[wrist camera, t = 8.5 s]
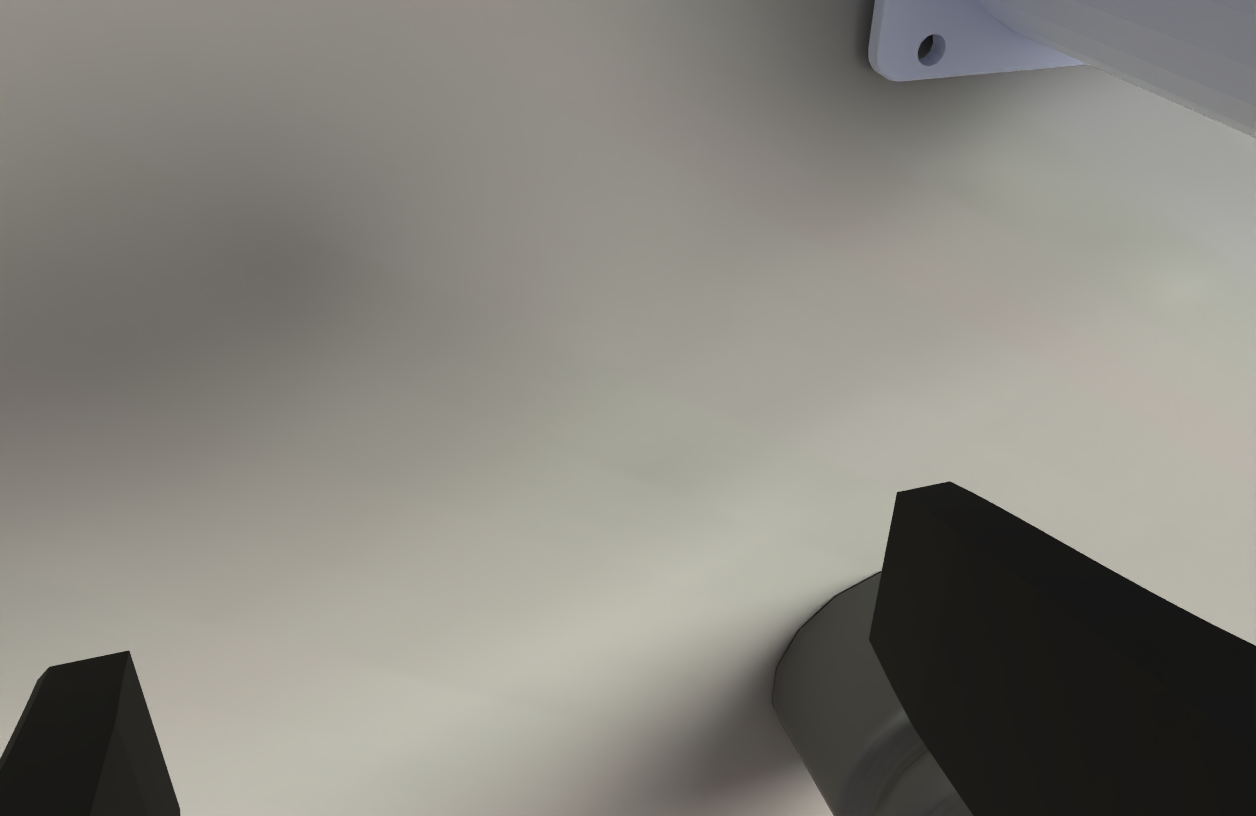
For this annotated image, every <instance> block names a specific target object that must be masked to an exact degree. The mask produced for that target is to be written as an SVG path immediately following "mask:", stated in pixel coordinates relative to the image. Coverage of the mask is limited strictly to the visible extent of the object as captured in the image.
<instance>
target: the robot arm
mask: <svg viewBox="0 0 1256 816" xmlns="http://www.w3.org/2000/svg"><path fill="white" fill-rule="evenodd" d="M930 35H933V44H932V47H931V49H930V51H929V52H928V53H927V54H926V55H925V57H923V58H920V59H918V49H919V47H920V44H921V42H922V41H923V40H924V39H925V38H926V37H927V36H930ZM868 54H869V62H870V64H871V66H872V68H873V70H875V71H876V72H877V73H879V74H880V75H881V76H883V77H885V78H887V79H888V80H891V81H898V82H901V81H912V80H923V79H934V78H946V77H957V76H968V75H979V74H990V73H1001V72H1012V71H1023V70H1034V69H1046V68H1057V67H1068V66H1079V65H1091V66H1093V67H1096V68H1098V69H1100V70H1102V71H1105V72H1107V73H1109V74H1111V75H1114V76H1116V77H1118V78H1121V79H1123V80H1125V81H1127V82H1130V83H1132V84H1134V85H1136V86H1139V87H1141V88H1143V89H1146V90H1148V91H1150V92H1152V93H1155V94H1157V95H1159V96H1161V97H1164V98H1166V99H1168V100H1171V101H1173V102H1175V103H1177V104H1180V105H1182V106H1184V107H1186V108H1189V109H1191V110H1193V111H1196V112H1198V113H1200V114H1202V115H1205V116H1207V117H1209V118H1211V119H1214V120H1216V121H1218V122H1221V123H1223V124H1225V125H1227V126H1230V127H1232V128H1234V129H1237V130H1239V131H1241V132H1243V133H1246V134H1248V135H1250V136H1252V137H1255V138H1256V0H875V4H874V11H873V18H872V25H871V33H870V40H869V47H868ZM869 641H870V643H871V645H872V647H873V649H874V652H875V654H876V656H877V658H878V660H879V662H880V664H881V666H882V668H883V670H884V672H885V674H886V676H887V678H888V680H889V682H890V684H891V686H892V688H893V690H894V692H895V694H896V696H897V698H898V699H899V701H900V703H901V705H902V707H903V709H904V711H905V713H906V714H907V716H908V718H909V720H910V722H911V724H912V726H913V727H914V729H915V730H916V732H917V733H918V735H919V737H920V738H921V740H922V741H923V743H924V744H925V746H926V747H927V749H928V750H929V752H930V753H931V754H932V756H933V757H934V759H935V760H936V762H937V763H938V765H939V766H940V768H941V769H942V771H943V772H944V774H945V775H946V777H947V778H948V779H949V781H950V782H951V784H952V785H953V787H954V788H955V790H956V791H957V793H958V794H959V796H960V797H961V799H962V800H963V801H964V803H965V804H966V806H967V807H968V809H969V810H970V811H971V813H972V814H973V816H1256V646H1255V645H1253V644H1251V643H1249V642H1247V641H1245V640H1243V639H1241V638H1239V637H1237V636H1235V635H1233V634H1231V633H1229V632H1227V631H1225V630H1223V629H1221V628H1219V627H1217V626H1215V625H1213V624H1211V623H1209V622H1207V621H1205V620H1203V619H1201V618H1199V617H1197V616H1195V615H1193V614H1192V613H1190V612H1188V611H1186V610H1184V609H1182V608H1180V607H1178V606H1176V605H1174V604H1172V603H1171V602H1169V601H1167V600H1165V599H1163V598H1161V597H1159V596H1158V595H1156V594H1154V593H1152V592H1150V591H1148V590H1147V589H1145V588H1143V587H1141V586H1139V585H1137V584H1136V583H1134V582H1132V581H1130V580H1128V579H1127V578H1125V577H1123V576H1121V575H1119V574H1117V573H1116V572H1114V571H1112V570H1110V569H1108V568H1107V567H1105V566H1103V565H1101V564H1100V563H1098V562H1096V561H1094V560H1092V559H1091V558H1089V557H1087V556H1085V555H1084V554H1082V553H1080V552H1078V551H1076V550H1075V549H1073V548H1071V547H1069V546H1068V545H1066V544H1064V543H1062V542H1061V541H1059V540H1057V539H1055V538H1054V537H1052V536H1050V535H1048V534H1046V533H1045V532H1043V531H1041V530H1039V529H1038V528H1036V527H1034V526H1032V525H1031V524H1029V523H1027V522H1025V521H1023V520H1022V519H1020V518H1018V517H1016V516H1014V515H1013V514H1011V513H1009V512H1007V511H1005V510H1004V509H1002V508H1000V507H998V506H996V505H995V504H993V503H991V502H989V501H987V500H985V499H983V498H982V497H980V496H978V495H976V494H974V493H972V492H970V491H968V490H966V489H964V488H962V487H960V486H958V485H956V484H954V483H952V482H945V483H940V484H935V485H930V486H925V487H921V488H916V489H911V490H906V491H901V492H897V495H896V500H895V506H894V511H893V516H892V521H891V526H890V531H889V537H888V542H887V547H886V552H885V557H884V563H883V568H882V573H881V578H880V583H879V588H878V594H877V599H876V604H875V609H874V614H873V619H872V625H871V630H870V635H869ZM0 816H180V808H179V804H178V801H177V798H176V795H175V792H174V789H173V786H172V783H171V779H170V776H169V773H168V770H167V767H166V764H165V761H164V758H163V754H162V751H161V748H160V745H159V742H158V739H157V736H156V733H155V729H154V726H153V723H152V720H151V717H150V714H149V711H148V708H147V704H146V701H145V698H144V695H143V692H142V689H141V686H140V683H139V680H138V676H137V673H136V670H135V667H134V664H133V661H132V658H131V655H130V651H124V652H119V653H114V654H110V655H105V656H100V657H95V658H90V659H85V660H81V661H76V662H71V663H66V664H61V665H56V666H51V667H49V668H48V669H47V670H46V671H45V672H44V673H43V675H42V676H41V677H40V678H39V679H38V680H37V683H36V685H35V687H34V689H33V691H32V694H31V696H30V698H29V700H28V702H27V705H26V707H25V709H24V711H23V713H22V715H21V717H20V719H19V721H18V724H17V726H16V728H15V730H14V732H13V734H12V736H11V738H10V740H9V742H8V744H7V746H6V748H5V750H4V752H3V754H2V756H1V758H0Z"/></svg>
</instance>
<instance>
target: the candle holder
mask: <svg viewBox="0 0 1256 816" xmlns="http://www.w3.org/2000/svg"><path fill="white" fill-rule="evenodd" d="M881 573H882V572H880V573H879V574H877V575H875V576H873V577H871V578H869V579H867V580H866V581H864V582H862V583H860V584H858V585H856V586H854V587H852V588H851V589H849V590H847V591H845V592H843V593H841V594H839V595H838V596H836V597H835V598H834V599H833V600H831V601H830V602H829V603H828V604H827V605H826V606H825V607H824V608H823V609H822V610H821V611H819V612H818V613H817V614H816V615H815V616H814V617H813V618H812V619H811V620H810V621H809V622H808V623H806V624H805V625H804V626H803V627H802V628H801V629H800V630H799V631H798V633H797V635H796V636H795V638H794V640H793V641H792V643H791V645H790V646H789V648H788V650H787V651H786V653H785V655H784V656H783V658H782V660H781V661H780V663H779V665H778V666H777V669H776V676H775V683H774V690H773V697H772V704H773V706H774V708H775V710H776V712H777V714H778V716H779V719H780V721H781V723H782V725H783V727H784V729H785V731H786V733H787V734H788V736H789V738H790V740H791V741H792V743H793V745H794V747H795V748H796V750H797V752H798V754H799V755H800V757H801V759H802V761H803V762H804V764H805V766H806V768H807V769H808V771H809V773H810V775H811V777H812V778H813V780H814V782H815V784H816V785H817V787H818V789H819V791H820V792H821V794H822V796H823V798H824V799H825V801H826V803H827V805H828V806H829V808H830V810H831V812H832V813H833V815H834V816H973V814H972V813H971V811H970V810H969V809H968V807H967V806H966V804H965V803H964V801H963V800H962V799H961V797H960V796H959V794H958V793H957V791H956V790H955V788H954V787H953V785H952V784H951V782H950V781H949V779H948V778H947V777H946V775H945V774H944V772H943V771H942V769H941V768H940V766H939V765H938V763H937V762H936V760H935V759H934V757H933V756H932V754H931V753H930V752H929V750H928V749H927V747H926V746H925V744H924V743H923V741H922V740H921V738H920V737H919V735H918V733H917V732H916V730H915V729H914V727H913V726H912V724H911V722H910V720H909V718H908V716H907V714H906V713H905V711H904V709H903V707H902V705H901V703H900V701H899V699H898V698H897V696H896V694H895V692H894V690H893V688H892V686H891V684H890V682H889V680H888V678H887V676H886V674H885V672H884V670H883V668H882V666H881V664H880V662H879V660H878V658H877V656H876V654H875V652H874V649H873V647H872V645H871V643H870V641H869V635H870V630H871V625H872V619H873V614H874V609H875V604H876V599H877V594H878V588H879V583H880V578H881Z"/></svg>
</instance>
